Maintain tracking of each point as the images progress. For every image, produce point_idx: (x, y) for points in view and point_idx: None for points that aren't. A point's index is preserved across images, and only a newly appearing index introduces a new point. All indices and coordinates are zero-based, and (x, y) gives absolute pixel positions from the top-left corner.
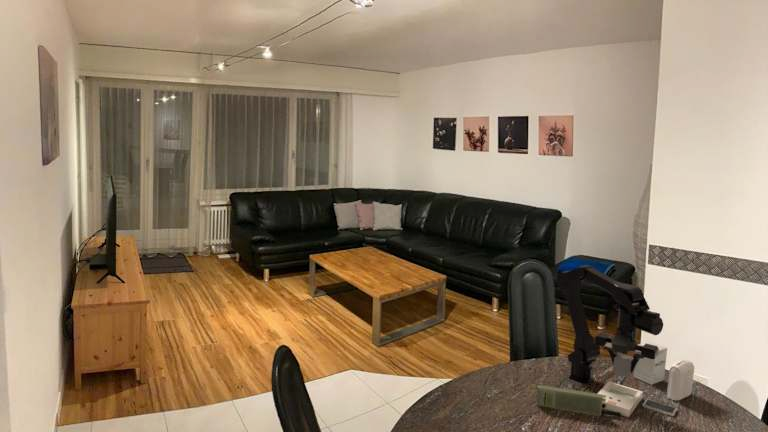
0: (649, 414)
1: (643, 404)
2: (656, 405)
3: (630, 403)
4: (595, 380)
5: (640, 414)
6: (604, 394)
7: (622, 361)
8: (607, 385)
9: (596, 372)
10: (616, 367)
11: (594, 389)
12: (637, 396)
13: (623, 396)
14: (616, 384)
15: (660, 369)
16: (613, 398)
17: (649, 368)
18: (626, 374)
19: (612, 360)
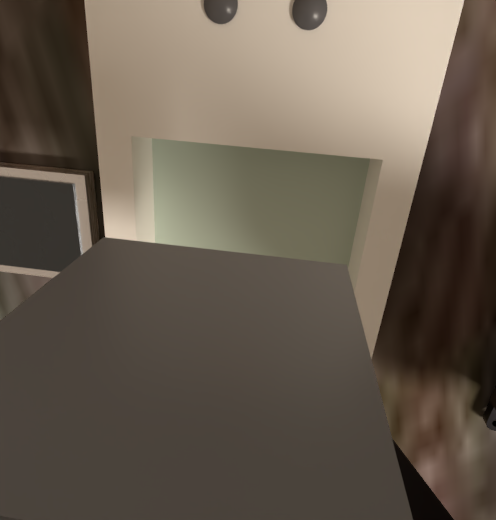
0: (14, 75)
1: (80, 181)
2: (9, 217)
3: (114, 20)
4: (456, 389)
5: (60, 22)
6: (379, 58)
7: (111, 469)
8: (371, 281)
9: (454, 488)
10: (297, 325)
11: (459, 250)
12: (114, 218)
13: (207, 140)
14: None
15: None
16: (280, 21)
17: None
18: (122, 260)
19: (426, 506)
